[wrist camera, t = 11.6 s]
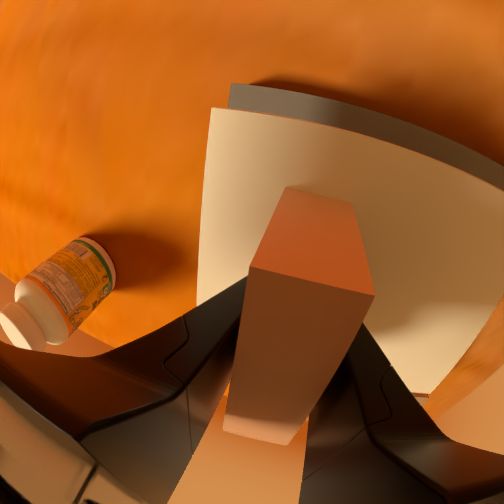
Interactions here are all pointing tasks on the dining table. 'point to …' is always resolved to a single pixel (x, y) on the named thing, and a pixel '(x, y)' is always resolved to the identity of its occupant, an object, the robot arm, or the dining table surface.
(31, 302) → the supplement bottle
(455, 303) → the cover
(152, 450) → the robot arm
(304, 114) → the case
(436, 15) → the dining table surface
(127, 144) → the dining table surface
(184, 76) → the dining table surface
